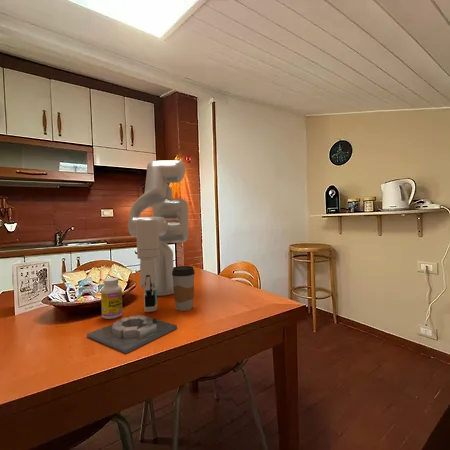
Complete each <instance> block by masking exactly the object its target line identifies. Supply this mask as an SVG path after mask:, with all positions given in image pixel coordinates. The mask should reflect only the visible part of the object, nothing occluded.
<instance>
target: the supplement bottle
mask: <svg viewBox="0 0 450 450" xmlns="http://www.w3.org/2000/svg"><path fill="white" fill-rule="evenodd" d="M103 284H104V286H103V287H102V288H101V289H100V296H101V297H100V301H101V302H100V303H101V317H102V319H106V320H113V319H116V318H117V319H118V318H119V317H121V316H122V315H123V292H122V291H123V289H122V286H121V285H119V278H118V277H108V278H104V279H103Z"/></svg>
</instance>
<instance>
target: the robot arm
mask: <svg viewBox="0 0 450 450" xmlns="http://www.w3.org/2000/svg"><path fill="white" fill-rule="evenodd" d="M185 175H186V167H185V163H184V161H183V160H173V159H172V160H170V159H169V160H153V161H150V162H148V163H147V165H146V175H145V176H146V177H145V185H144V186H145V187H144V193H143V194H141V195H140V196H139V197H138V198H137V199H136V200H135V201H134V203H133V204H132V205H131V207H130V211H129V216H128V221H127V222H128V223H127V224H128V225H127V228H128V233H129V234H130V236H132V237H135V238H136V254H137V259H138V260H140V261H139V265H140V266H139V276H140V277H139V282H140V283H139V284H140V285H139V287H140V288H142V289H144V287H145V307H153V306H155V298H154V295H153V287H154V286H156V290H157V297H162V296H163V297H165V296H170V295H174V288H173V275H172V271H173V268H174V253H173V249H172V248H171V246H169V244H170V243H171V244H173V243H176V244H177V243H185V242H186V241H188V239H189V206H188V202H187V201H186V200H185V199H183V198H173V189H172V188H171V186H170V185H169V183H170V184H172V183H181V182H182V181H183V179H184V178H185ZM151 207H152V214H153V216H140V215H141V214H142V212H144V211H145V210H146V209H148V208H151ZM150 288H152V290H151V289H150Z"/></svg>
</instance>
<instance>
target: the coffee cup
mask: <svg viewBox="0 0 450 450" xmlns="http://www.w3.org/2000/svg"><path fill="white" fill-rule="evenodd" d="M172 275H173V288H174V294H173V296H174V297H173V298H174V302H175V303H174V304H175V306H174V307H175V309H176V310H177V311H180V312H183V311H185V312H186V311H190V310H193V307H194V296H195V269H194V266H190V265H179V266H175V267H174V266H173V271H172Z"/></svg>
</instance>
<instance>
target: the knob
mask: <svg viewBox="0 0 450 450" xmlns="http://www.w3.org/2000/svg"><path fill="white" fill-rule="evenodd" d="M150 289H151V290H152V288H150ZM153 295H154V298H155V306H153V307H145V286H144V287H143V302H144V303H143V305H144V312H146V313H149V312H151V313H152V312H156V311H157V310H158V296H157V290H156V286H154V287H153Z"/></svg>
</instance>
